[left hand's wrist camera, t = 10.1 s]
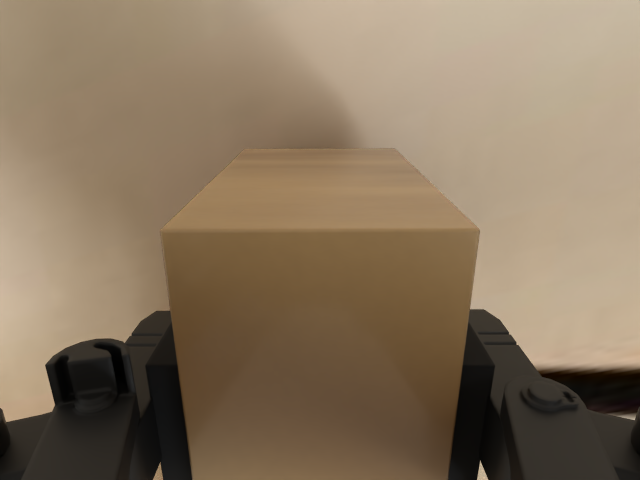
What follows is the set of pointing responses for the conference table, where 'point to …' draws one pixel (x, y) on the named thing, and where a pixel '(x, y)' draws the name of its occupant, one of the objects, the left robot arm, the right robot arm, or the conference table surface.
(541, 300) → the conference table surface
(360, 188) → the bar
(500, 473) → the left robot arm
